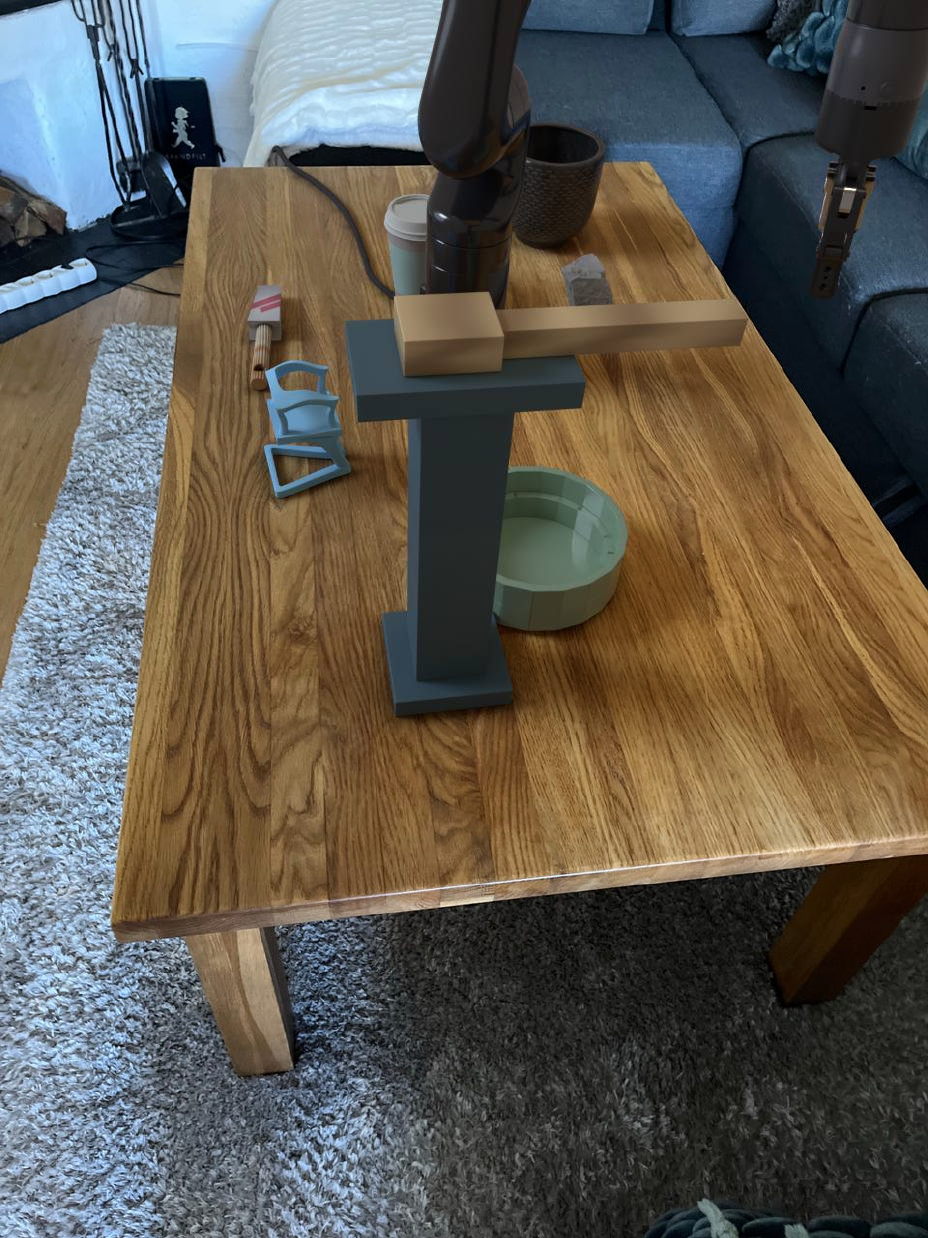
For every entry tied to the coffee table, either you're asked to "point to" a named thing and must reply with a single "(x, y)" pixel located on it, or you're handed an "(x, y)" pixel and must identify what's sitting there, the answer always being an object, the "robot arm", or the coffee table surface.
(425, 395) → the lectern stand
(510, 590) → the bowl
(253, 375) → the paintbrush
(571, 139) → the planter
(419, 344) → the wooden mallet
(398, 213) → the coffee cup
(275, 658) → the coffee table surface
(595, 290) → the mineral specimen
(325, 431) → the chair
